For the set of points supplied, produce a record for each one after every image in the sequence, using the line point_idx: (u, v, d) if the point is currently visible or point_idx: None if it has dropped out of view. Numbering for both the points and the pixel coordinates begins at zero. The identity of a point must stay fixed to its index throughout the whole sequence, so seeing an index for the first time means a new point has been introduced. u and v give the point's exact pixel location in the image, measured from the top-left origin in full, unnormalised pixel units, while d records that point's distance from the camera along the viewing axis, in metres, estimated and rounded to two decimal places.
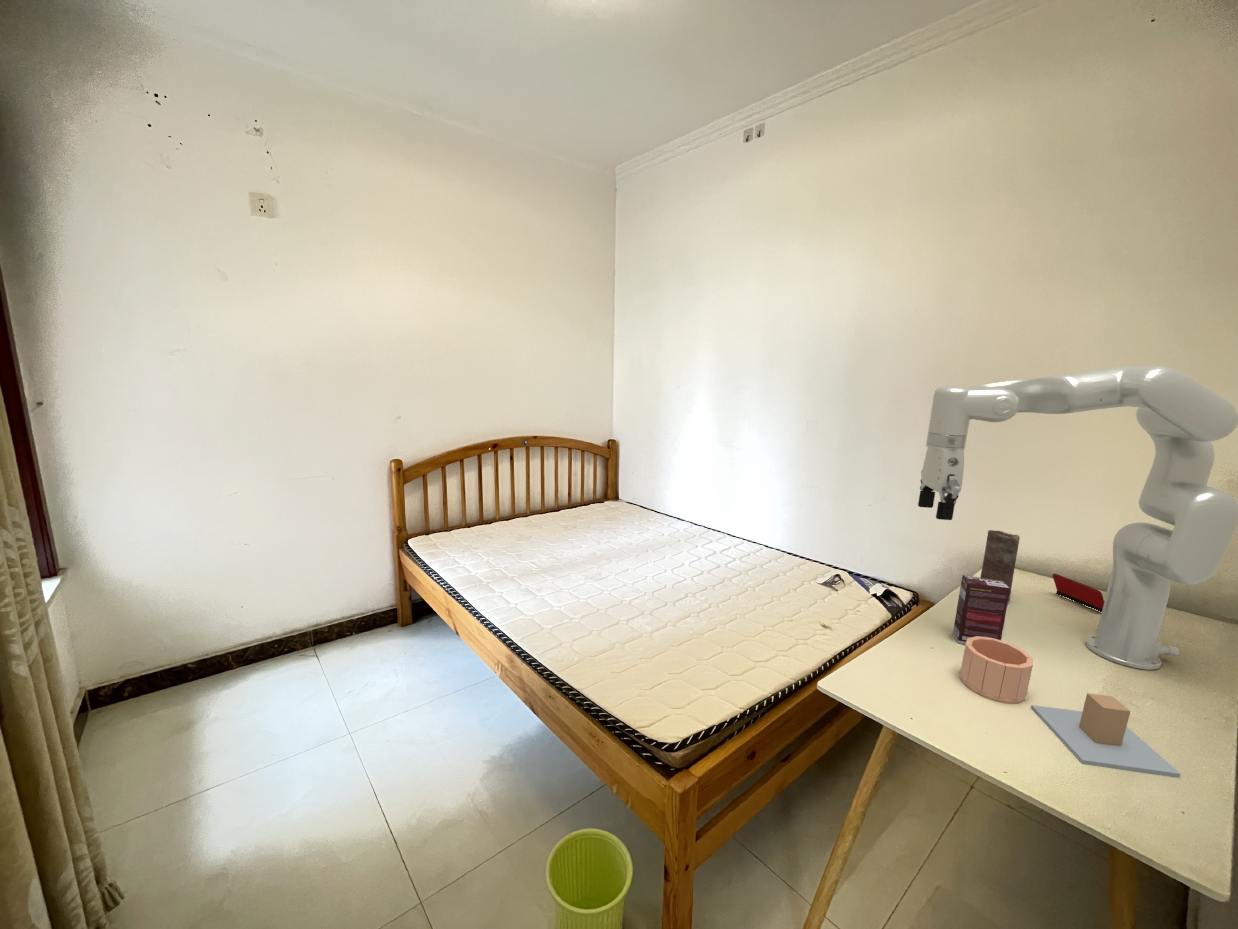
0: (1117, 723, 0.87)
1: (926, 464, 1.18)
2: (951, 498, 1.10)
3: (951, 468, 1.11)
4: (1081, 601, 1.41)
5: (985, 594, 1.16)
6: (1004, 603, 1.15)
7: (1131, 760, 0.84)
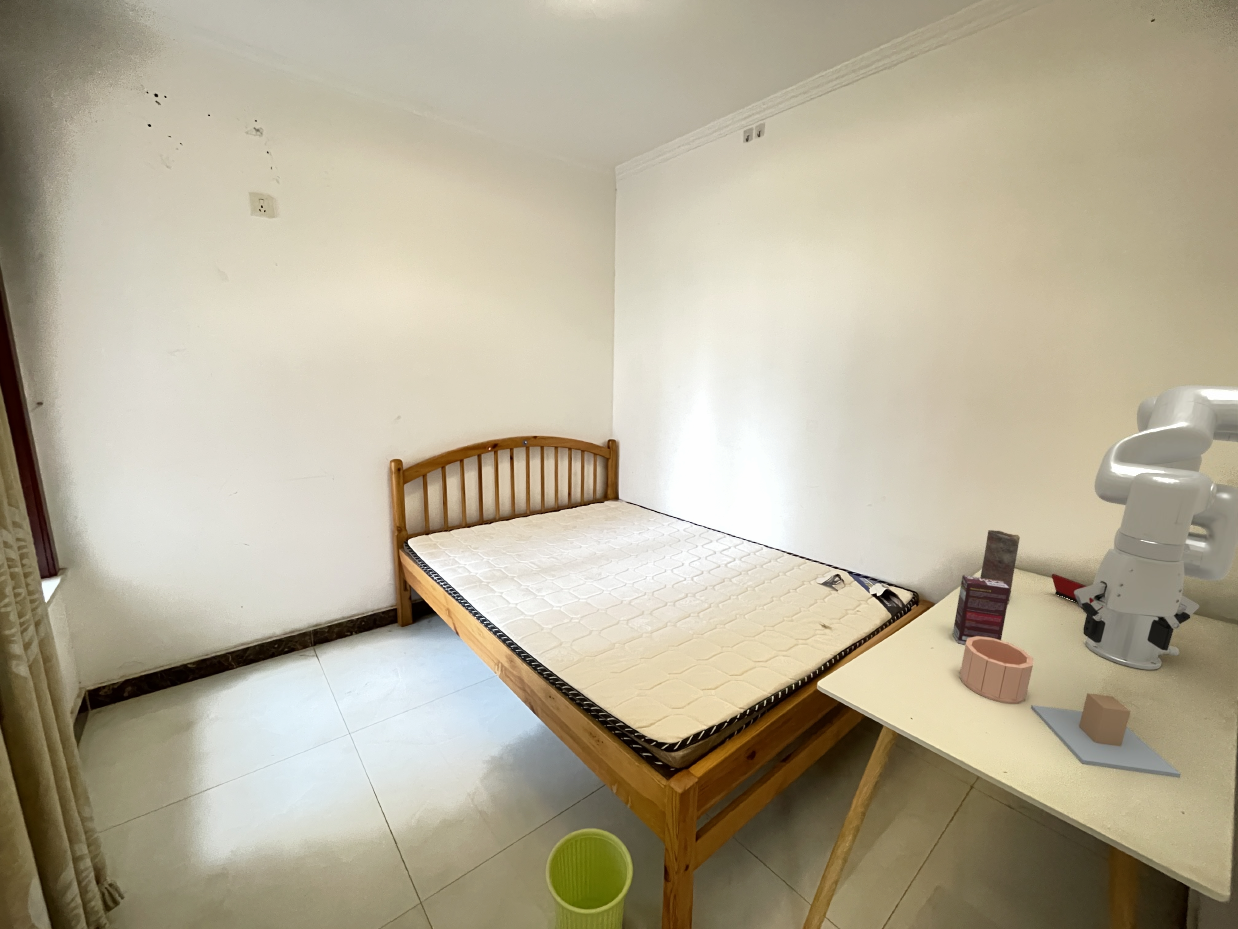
0: (1117, 723, 0.87)
1: (1136, 586, 0.81)
2: None
3: None
4: None
5: (985, 594, 1.16)
6: (1004, 603, 1.15)
7: (1131, 760, 0.84)
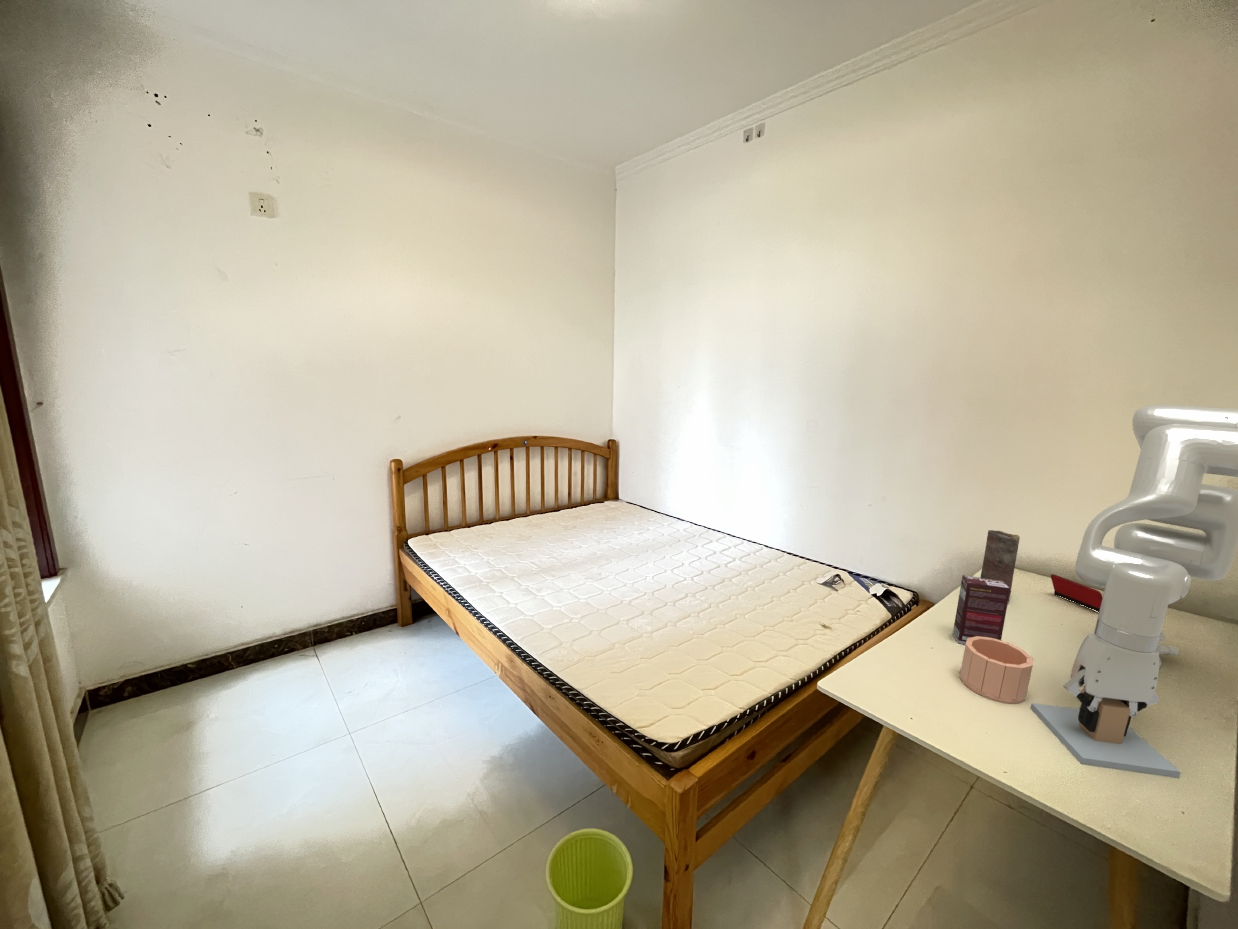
0: (1117, 721, 0.86)
1: (1113, 673, 0.85)
2: None
3: None
4: (1079, 601, 1.41)
5: (985, 594, 1.16)
6: (1004, 603, 1.15)
7: (1131, 758, 0.84)
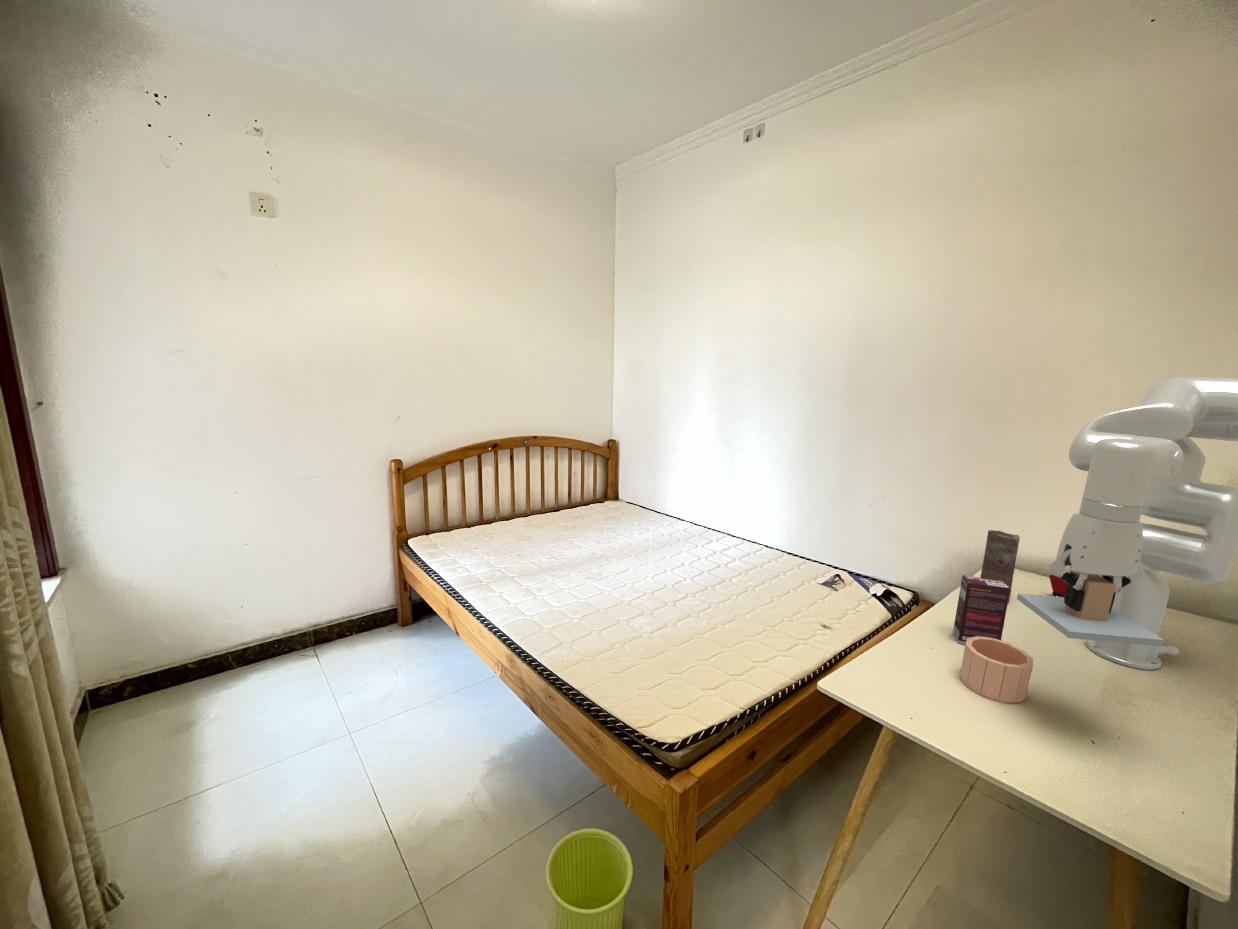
0: (1103, 598, 0.87)
1: (1098, 548, 0.85)
2: None
3: None
4: None
5: (985, 594, 1.16)
6: (1004, 603, 1.15)
7: (1116, 631, 0.85)
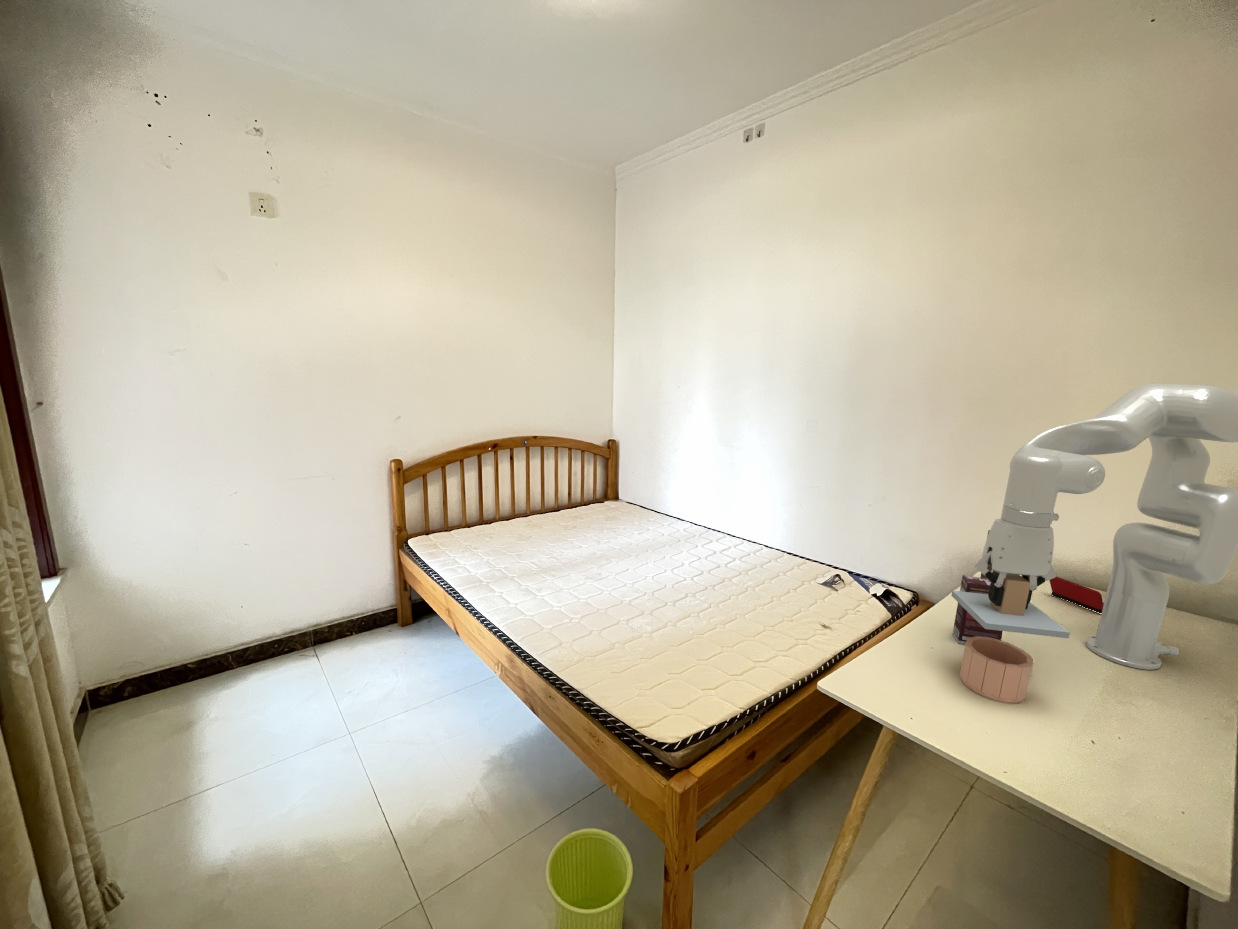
0: (1019, 594, 0.97)
1: (1014, 549, 0.96)
2: None
3: None
4: (1078, 602, 1.40)
5: None
6: None
7: (1029, 624, 0.95)
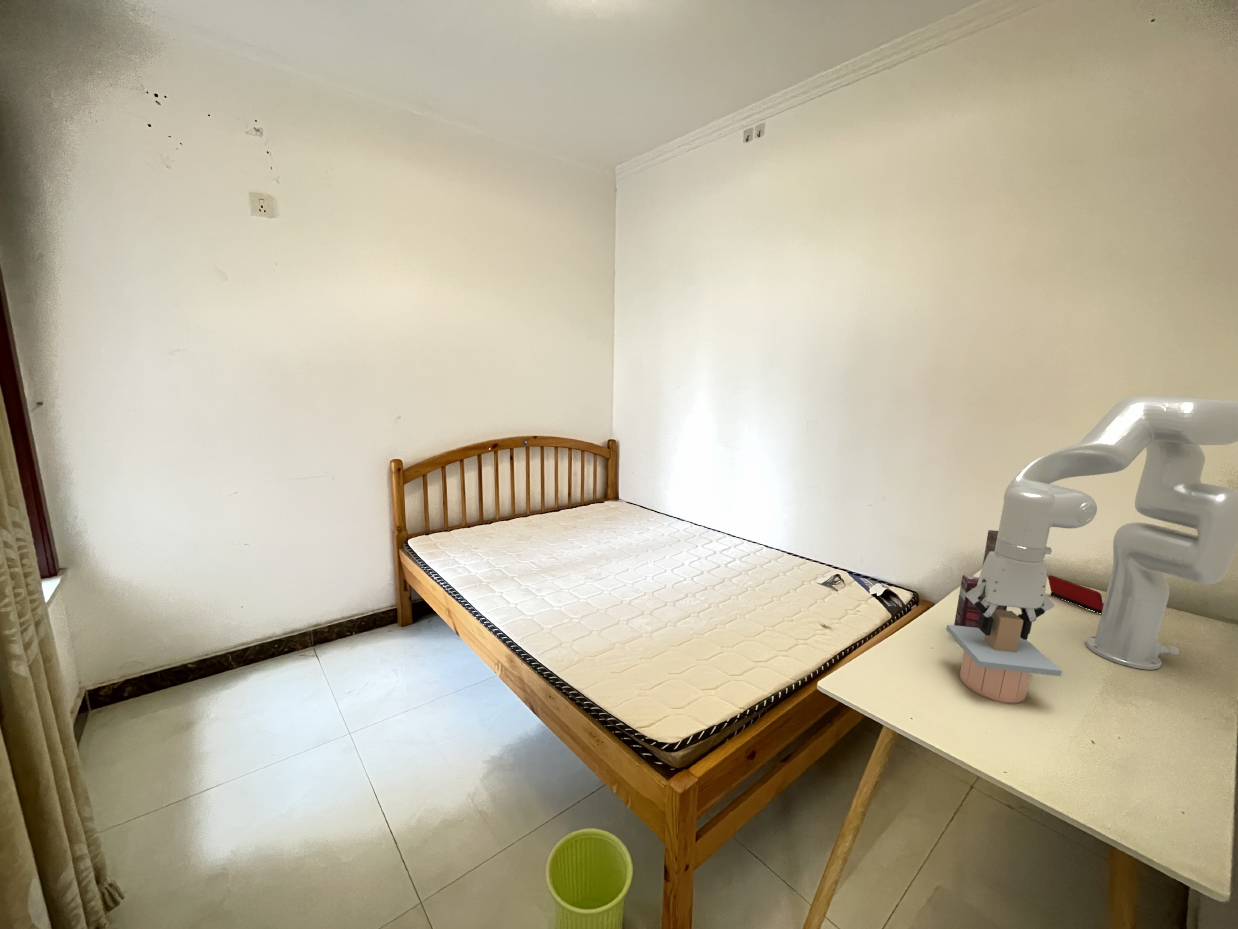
0: (1012, 632, 0.99)
1: (1007, 583, 0.97)
2: None
3: None
4: (1077, 602, 1.40)
5: None
6: None
7: (1022, 661, 0.97)
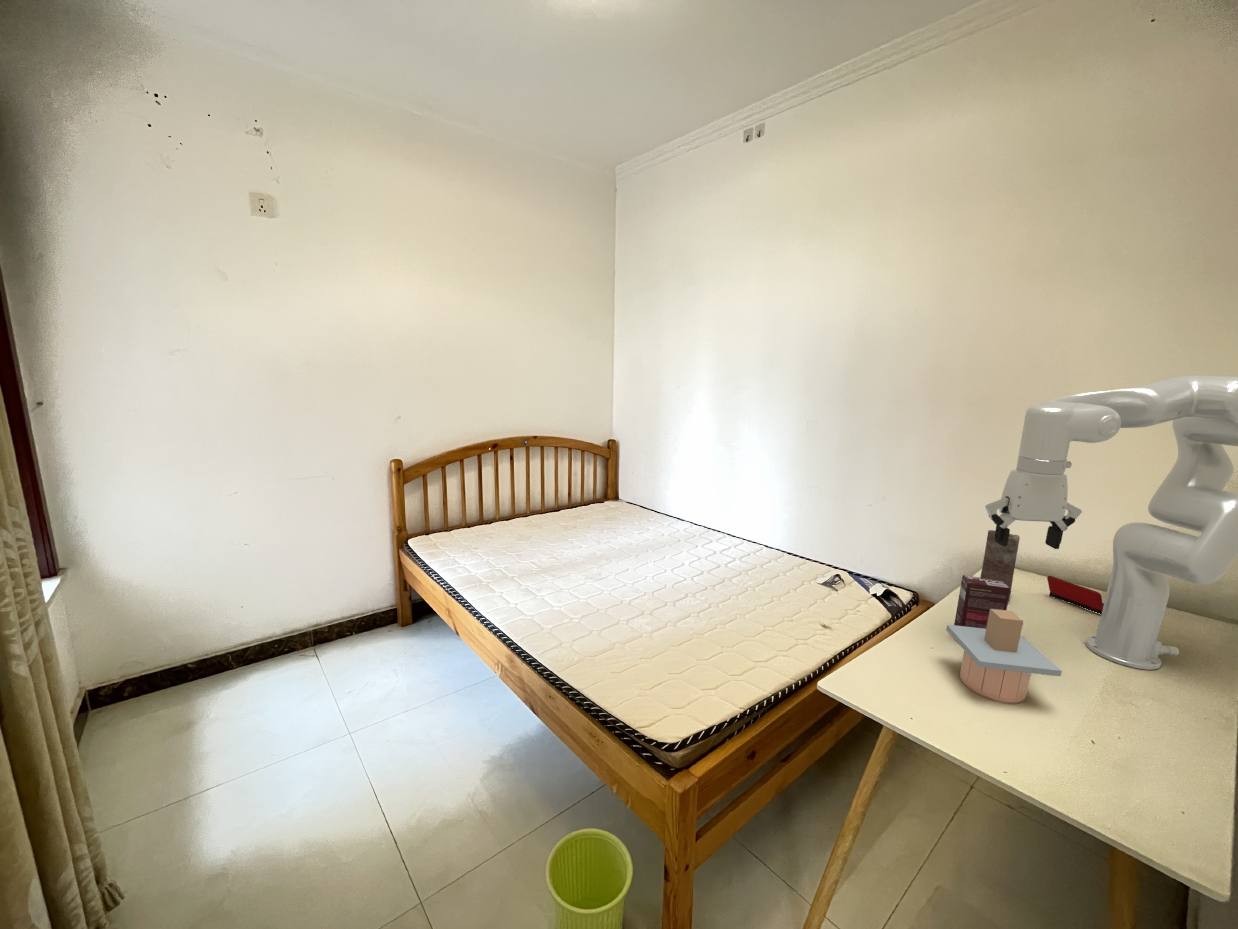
0: (1012, 632, 0.99)
1: (1030, 497, 1.01)
2: None
3: None
4: (1076, 602, 1.40)
5: (985, 594, 1.16)
6: (1004, 603, 1.15)
7: (1022, 661, 0.97)
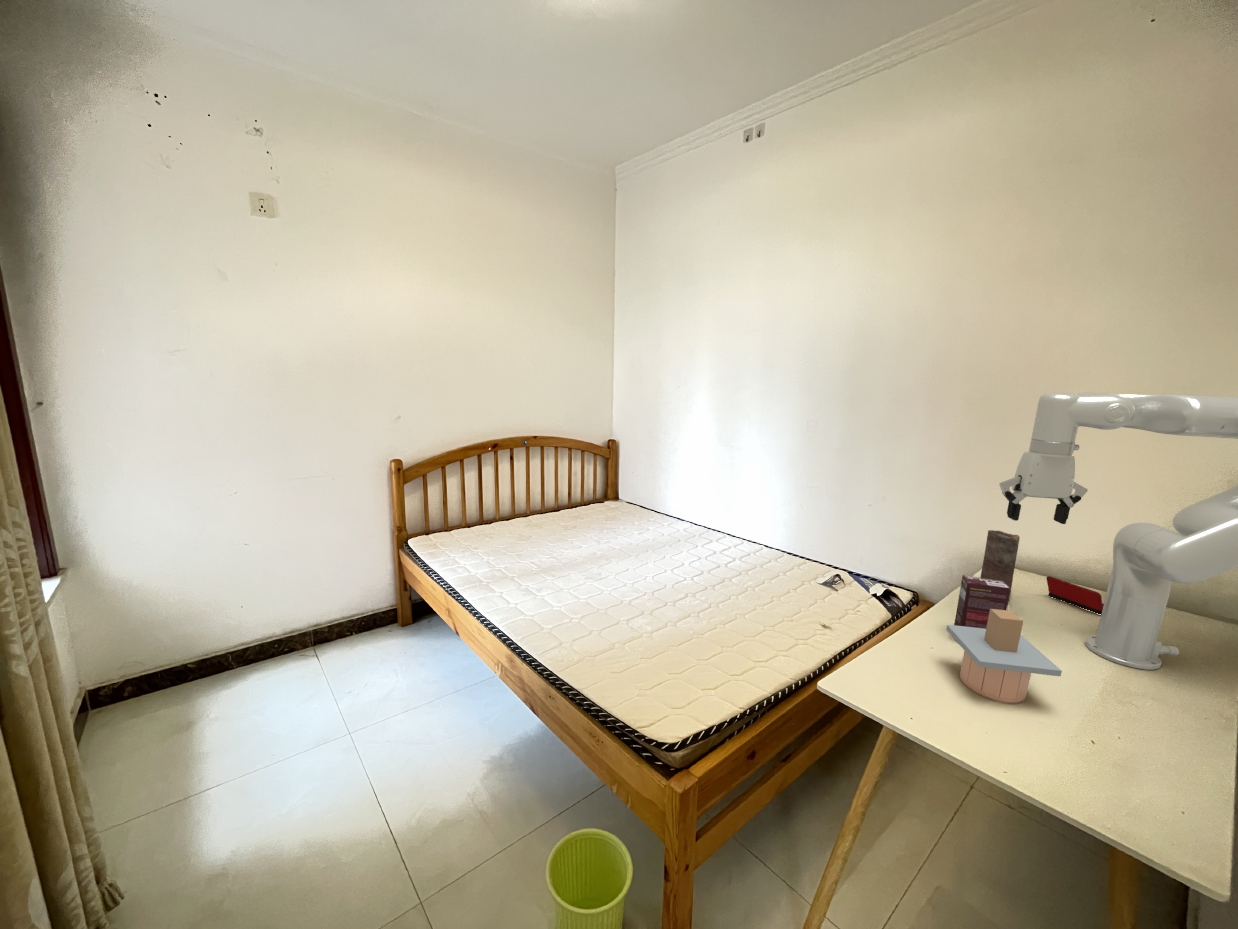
0: (1012, 632, 0.99)
1: (1041, 475, 1.12)
2: None
3: None
4: (1076, 603, 1.40)
5: (985, 594, 1.16)
6: (1004, 603, 1.15)
7: (1022, 661, 0.97)
